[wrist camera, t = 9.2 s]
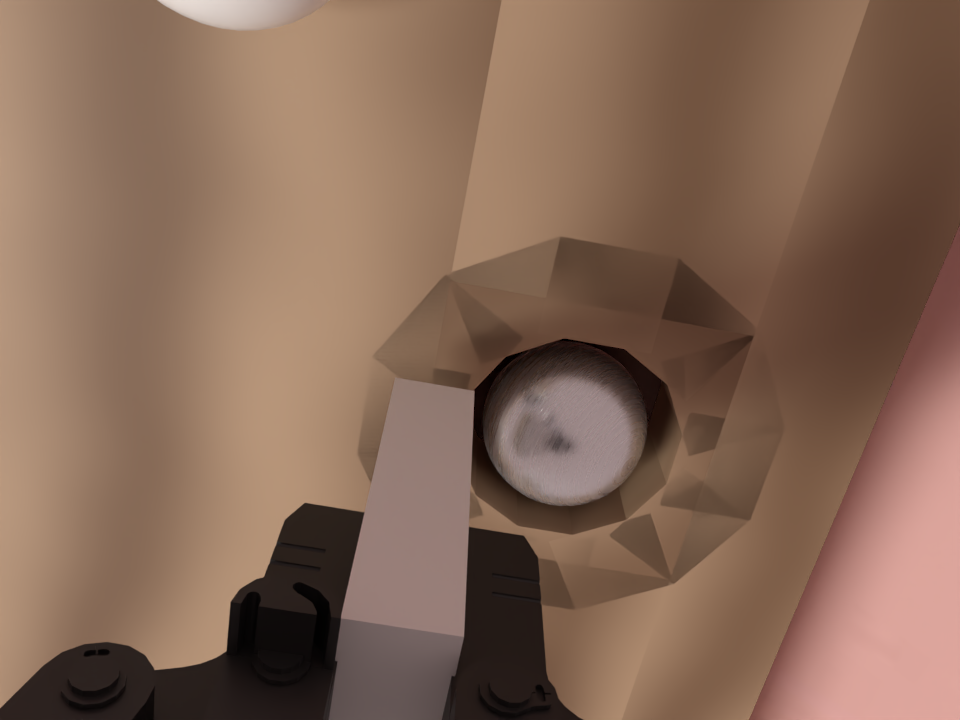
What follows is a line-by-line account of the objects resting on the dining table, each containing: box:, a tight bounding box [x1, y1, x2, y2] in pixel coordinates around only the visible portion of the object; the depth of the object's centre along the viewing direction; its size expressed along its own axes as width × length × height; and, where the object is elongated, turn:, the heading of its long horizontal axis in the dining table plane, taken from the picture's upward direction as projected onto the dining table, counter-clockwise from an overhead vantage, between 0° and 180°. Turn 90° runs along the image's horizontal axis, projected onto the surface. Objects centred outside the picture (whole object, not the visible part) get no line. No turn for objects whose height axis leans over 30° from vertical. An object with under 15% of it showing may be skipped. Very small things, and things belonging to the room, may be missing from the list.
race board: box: [0, 0, 960, 720], centre depth 19 cm, size 22×24×2 cm
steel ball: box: [482, 342, 647, 506], centre depth 19 cm, size 4×4×4 cm
